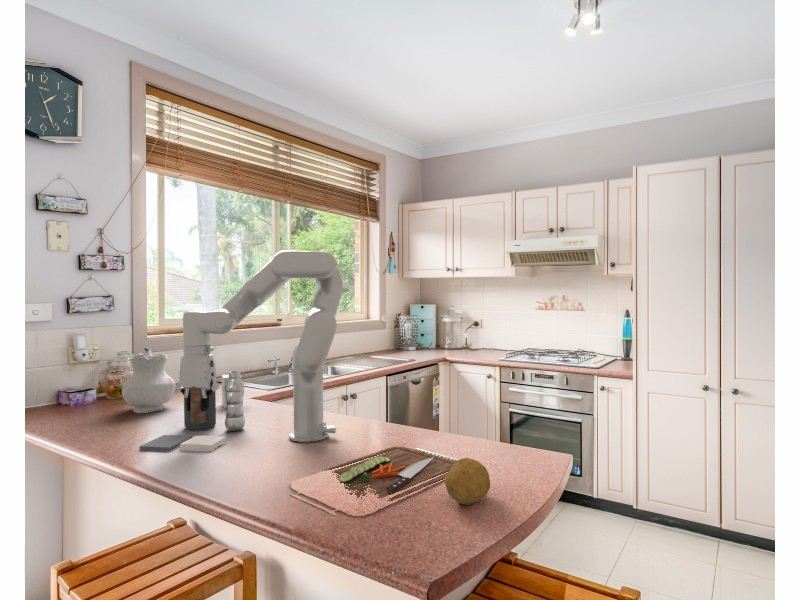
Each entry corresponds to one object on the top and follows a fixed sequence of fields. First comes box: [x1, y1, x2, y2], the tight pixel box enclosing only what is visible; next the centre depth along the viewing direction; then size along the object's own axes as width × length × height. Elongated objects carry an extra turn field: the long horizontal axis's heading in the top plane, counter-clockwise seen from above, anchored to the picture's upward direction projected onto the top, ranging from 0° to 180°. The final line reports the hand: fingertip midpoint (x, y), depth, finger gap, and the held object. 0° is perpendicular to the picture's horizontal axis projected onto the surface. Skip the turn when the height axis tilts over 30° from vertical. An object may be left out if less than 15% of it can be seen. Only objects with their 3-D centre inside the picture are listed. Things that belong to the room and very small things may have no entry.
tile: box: [179, 435, 227, 452], centre depth 154 cm, size 2×9×10 cm
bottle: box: [183, 386, 217, 432], centre depth 176 cm, size 10×10×30 cm
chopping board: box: [323, 445, 460, 501], centre depth 128 cm, size 45×27×3 cm, turn 137°
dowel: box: [190, 386, 205, 424], centre depth 154 cm, size 4×4×14 cm
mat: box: [139, 434, 194, 452], centre depth 156 cm, size 10×12×1 cm
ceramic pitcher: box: [121, 346, 176, 414], centre depth 204 cm, size 22×20×25 cm
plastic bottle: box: [224, 370, 246, 432], centre depth 172 cm, size 6×7×20 cm
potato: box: [444, 457, 491, 506], centre depth 113 cm, size 10×13×9 cm
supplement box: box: [221, 374, 243, 409], centre depth 209 cm, size 7×7×13 cm
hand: (197, 409), depth 155 cm, fingers closed on dowel, 4 cm apart
